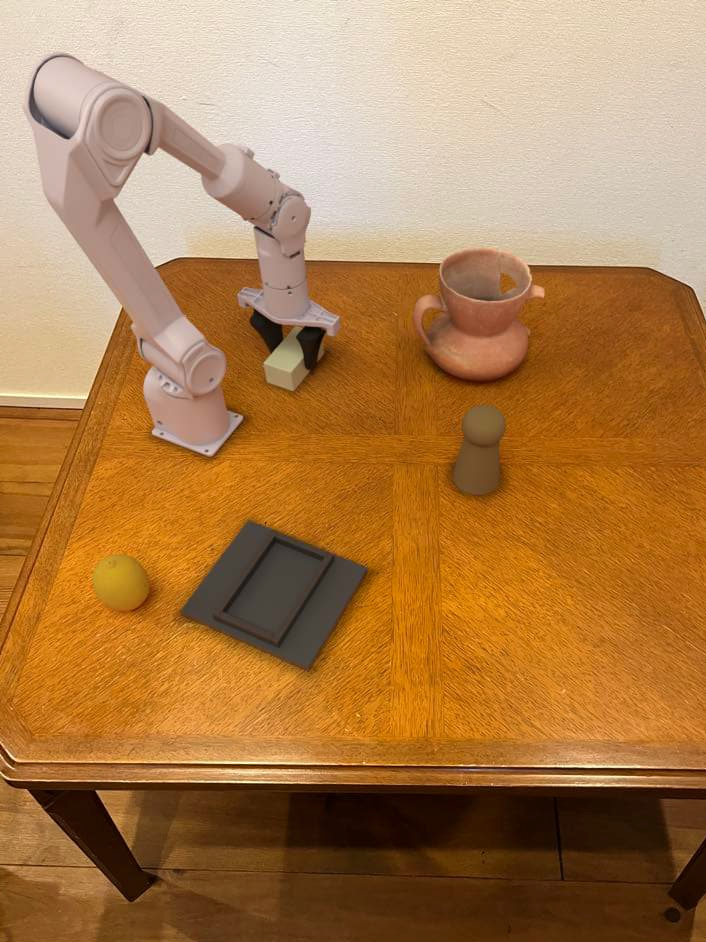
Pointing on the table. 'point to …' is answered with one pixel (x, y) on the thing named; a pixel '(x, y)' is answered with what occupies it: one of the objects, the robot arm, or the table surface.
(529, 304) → the table surface
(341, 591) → the base pad
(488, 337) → the ceramic jug
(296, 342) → the cream rectangular block
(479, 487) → the brown pawn
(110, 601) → the lemon
